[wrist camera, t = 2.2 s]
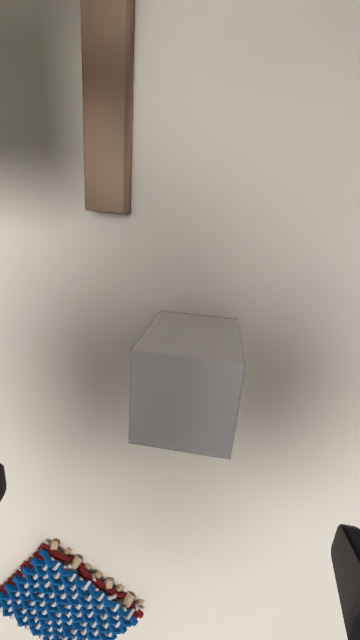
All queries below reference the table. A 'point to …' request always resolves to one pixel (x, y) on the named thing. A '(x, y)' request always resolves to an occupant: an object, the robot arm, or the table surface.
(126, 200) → the frame
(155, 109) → the table surface
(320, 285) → the table surface
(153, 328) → the grey rectangular block
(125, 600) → the woven mat
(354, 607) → the robot arm
